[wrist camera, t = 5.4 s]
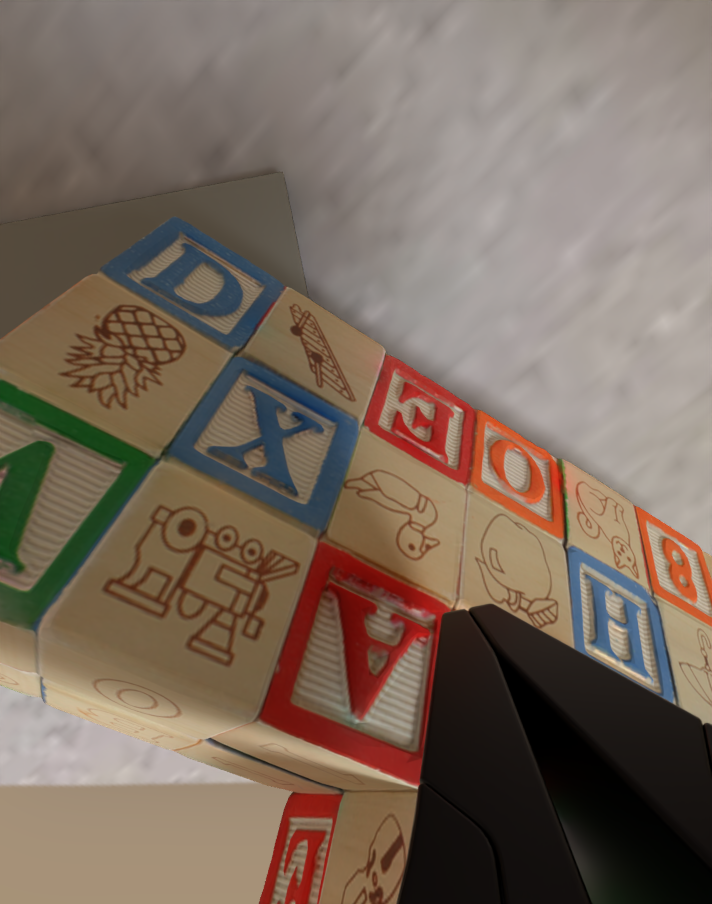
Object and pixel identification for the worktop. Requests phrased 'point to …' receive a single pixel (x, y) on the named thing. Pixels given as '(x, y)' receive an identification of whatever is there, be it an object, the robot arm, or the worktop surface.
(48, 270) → the mat
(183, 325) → the stack of blocks
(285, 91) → the worktop surface
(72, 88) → the worktop surface
